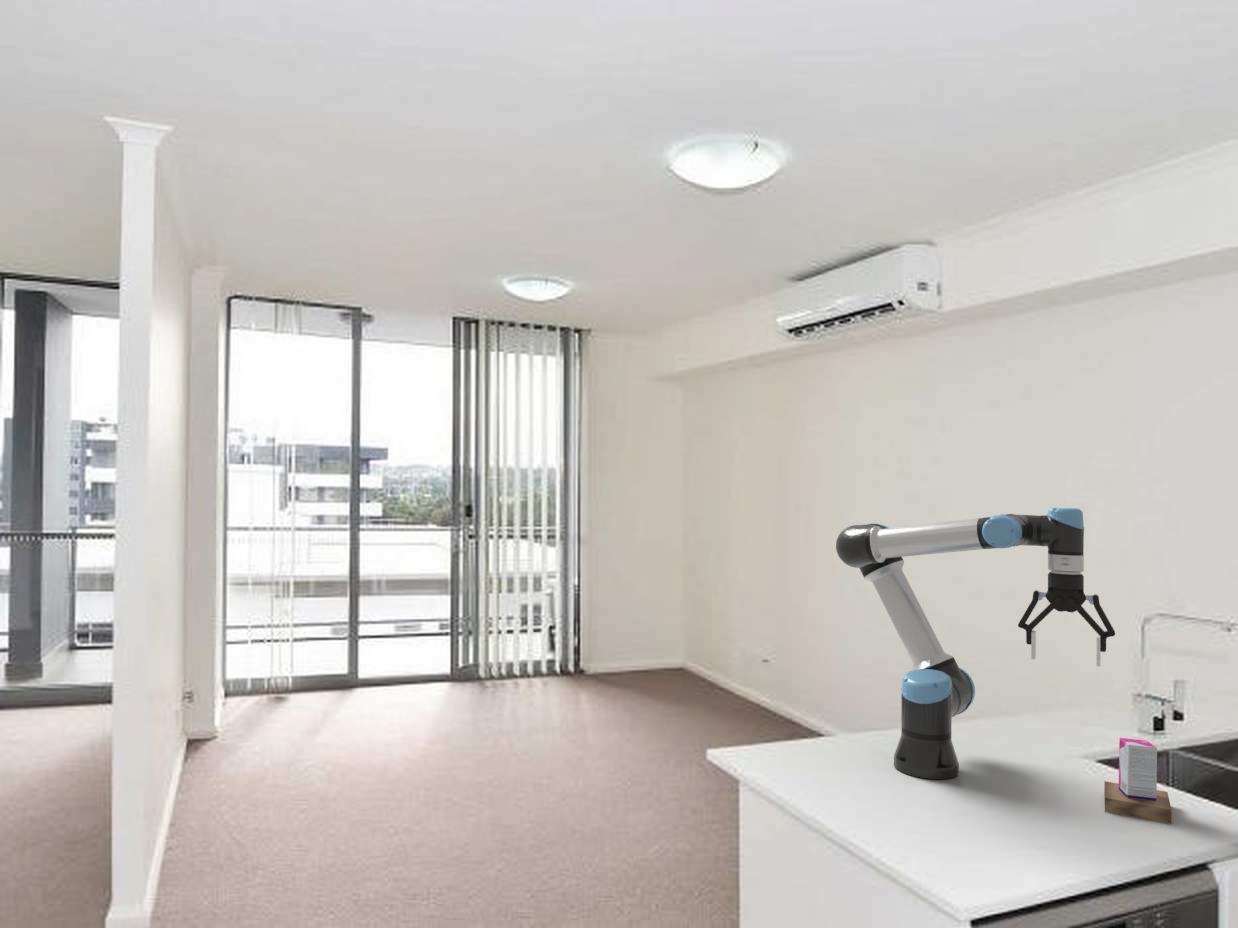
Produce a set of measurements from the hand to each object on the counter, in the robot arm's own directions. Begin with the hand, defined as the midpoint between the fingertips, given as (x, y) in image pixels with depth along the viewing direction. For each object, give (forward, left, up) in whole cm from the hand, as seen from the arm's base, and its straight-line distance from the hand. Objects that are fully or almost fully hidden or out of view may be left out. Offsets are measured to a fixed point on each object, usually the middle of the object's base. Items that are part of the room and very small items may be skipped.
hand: (1065, 661), depth 194 cm
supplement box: (+14, -9, -26) cm, 31 cm away
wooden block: (+14, -9, -29) cm, 33 cm away
